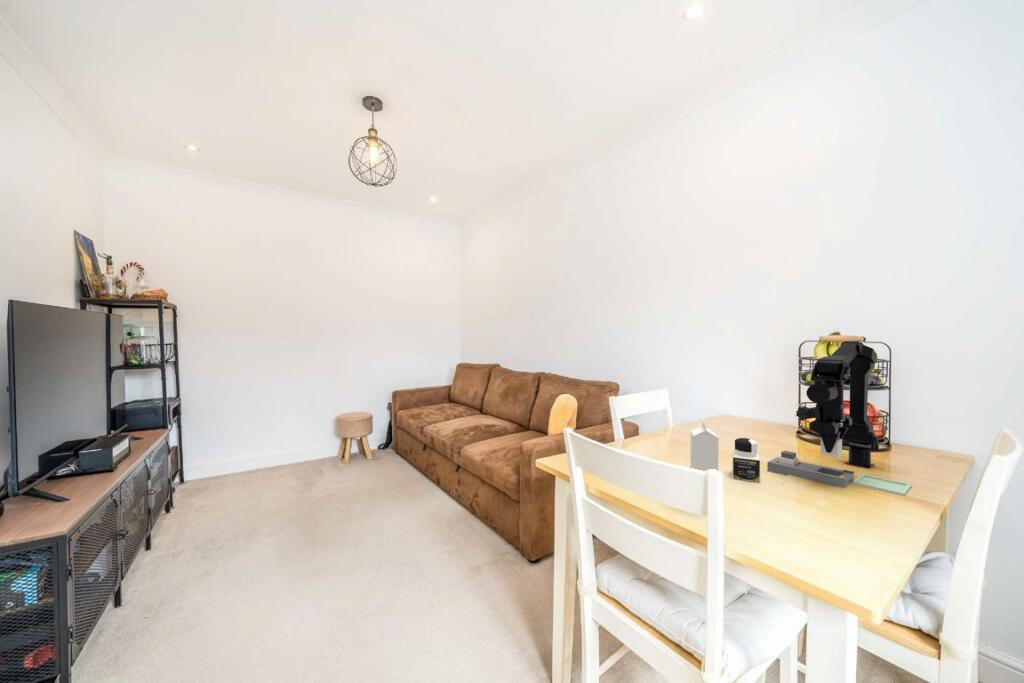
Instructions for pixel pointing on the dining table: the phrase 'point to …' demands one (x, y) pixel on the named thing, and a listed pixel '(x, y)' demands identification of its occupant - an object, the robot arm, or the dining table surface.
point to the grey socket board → (813, 472)
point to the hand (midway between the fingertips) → (830, 451)
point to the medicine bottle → (746, 460)
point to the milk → (704, 448)
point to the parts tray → (882, 484)
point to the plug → (836, 450)
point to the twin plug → (788, 458)
